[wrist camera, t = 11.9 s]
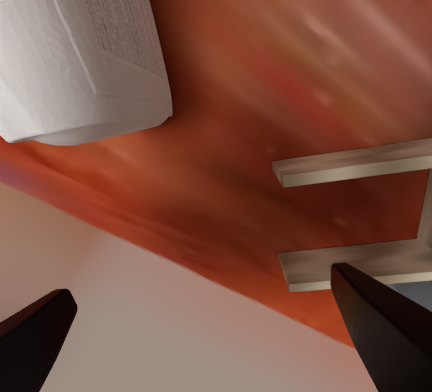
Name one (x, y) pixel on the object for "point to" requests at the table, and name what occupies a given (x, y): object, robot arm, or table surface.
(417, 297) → the slate block
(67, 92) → the white rounded slab
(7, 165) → the table surface
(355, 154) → the u-shaped bracket
